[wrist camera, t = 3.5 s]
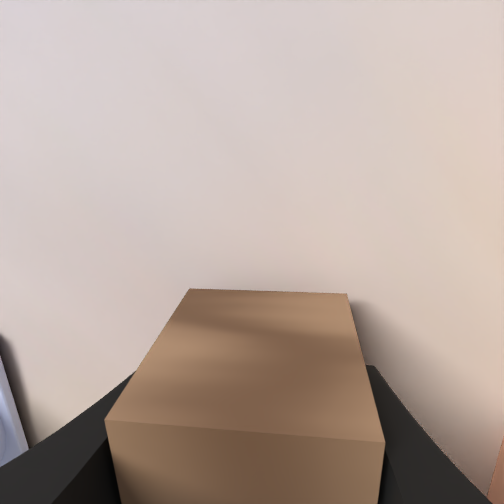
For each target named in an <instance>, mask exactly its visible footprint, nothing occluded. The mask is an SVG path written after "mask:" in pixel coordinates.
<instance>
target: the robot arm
mask: <svg viewBox="0 0 504 504" xmlns="http://www.w3.org/2000/svg"><path fill="white" fill-rule="evenodd" d="M365 366H366V370H367V374H368V378H369V382H370V385H371V389H372V393H373V397H374V401H375V405H376V408H377V412H378V416H379V420H380V424H381V428H382V432H383V435H384V439H385V449H384V457H383V464H382V472H381V480H380V487H379V495H378V502H377V504H493V503H492V502H491V501H489V500H488V499H487V498H486V497H485V496H484V495H483V494H482V493H481V492H480V491H479V490H478V489H477V488H476V487H475V486H474V485H473V484H472V483H471V482H470V481H469V480H468V479H467V478H466V477H465V476H464V474H463V473H462V472H461V471H460V470H459V469H458V468H457V467H456V466H455V465H454V464H453V463H452V462H451V461H450V459H449V458H448V457H447V456H446V455H445V454H444V453H443V452H442V451H441V450H440V448H439V447H438V446H437V445H436V444H435V443H434V442H433V440H432V439H431V438H430V437H429V436H428V435H427V433H426V432H425V431H424V430H423V429H422V427H421V426H420V425H419V424H418V423H417V421H416V420H415V419H414V418H413V417H412V415H411V414H410V413H409V412H408V410H407V409H406V408H405V407H404V405H403V404H402V403H401V401H400V400H399V399H398V397H397V396H396V395H395V393H394V392H393V391H392V389H391V388H390V387H389V385H388V384H387V383H386V381H385V380H384V378H383V377H382V376H381V374H380V373H379V371H378V370H377V369H376V368H375V367H374V366H369V365H365ZM135 372H136V371H135ZM135 372H134V373H135ZM134 373H133V374H132V375H130V376H129V377H128V378H127V379H125V380H124V381H123V382H122V383H120V384H119V385H118V386H117V387H115V388H114V389H113V390H112V391H110V392H109V393H108V394H107V395H105V396H104V397H103V398H102V399H100V400H99V401H98V402H96V403H95V404H94V405H92V406H91V407H90V408H88V409H87V410H85V411H84V412H83V413H81V414H80V415H79V416H77V417H76V418H74V419H73V420H72V421H70V422H69V423H68V424H66V425H65V426H64V427H62V428H61V429H59V430H58V431H56V432H55V433H53V434H52V435H51V436H49V437H47V438H46V439H44V440H43V441H41V442H40V443H38V444H37V445H35V446H34V447H32V448H30V449H29V448H28V444H27V441H26V438H25V435H24V431H23V428H22V425H21V422H20V418H19V415H18V412H17V409H16V405H15V402H14V399H13V396H12V393H11V389H10V386H9V383H8V380H7V376H6V373H5V370H4V367H3V363H2V360H1V357H0V504H122V503H121V498H120V493H119V488H118V483H117V479H116V474H115V469H114V464H113V459H112V454H111V450H110V445H109V440H108V435H107V430H106V425H105V421H104V419H105V418H106V416H107V415H108V413H109V412H110V410H111V409H112V407H113V405H114V404H115V402H116V401H117V399H118V398H119V396H120V395H121V393H122V392H123V390H124V389H125V387H126V385H127V384H128V382H129V381H130V379H131V378H132V376H133V375H134Z"/></svg>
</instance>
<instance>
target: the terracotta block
mask: <svg viewBox="0 0 504 504" xmlns="http://www.w3.org/2000/svg"><path fill="white" fill-rule="evenodd" d="M487 499H488V500H489V501H491V502H492V503H493V504H504V438H503V441H502V445H501V448H500V452H499V456H498V459H497V463H496V466H495V470H494V474H493V477H492V481H491V484H490V488H489V492H488V495H487Z"/></svg>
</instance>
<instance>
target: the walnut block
mask: <svg viewBox="0 0 504 504" xmlns="http://www.w3.org/2000/svg"><path fill="white" fill-rule="evenodd" d="M104 421H105V425H106V430H107V435H108V440H109V445H110V450H111V454H112V459H113V464H114V469H115V474H116V479H117V483H118V488H119V493H120V498H121V503H122V504H377V502H378V495H379V487H380V480H381V472H382V464H383V457H384V449H385V439H384V435H383V432H382V428H381V424H380V420H379V416H378V412H377V408H376V405H375V401H374V397H373V393H372V389H371V385H370V382H369V378H368V374H367V370H366V366H365V362H364V358H363V355H362V351H361V347H360V343H359V339H358V335H357V332H356V328H355V324H354V320H353V316H352V312H351V308H350V305H349V301H348V297H347V294H338V293H308V292H278V291H247V290H217V289H189V290H188V292H187V293H186V295H185V296H184V298H183V299H182V301H181V302H180V304H179V305H178V307H177V308H176V310H175V312H174V313H173V315H172V316H171V318H170V319H169V321H168V322H167V324H166V325H165V327H164V329H163V330H162V332H161V333H160V335H159V336H158V338H157V339H156V341H155V342H154V344H153V345H152V347H151V349H150V350H149V352H148V353H147V355H146V356H145V358H144V359H143V361H142V362H141V364H140V365H139V367H138V369H137V370H136V372H135V373H134V375H133V376H132V378H131V379H130V381H129V382H128V384H127V385H126V387H125V389H124V390H123V392H122V393H121V395H120V396H119V398H118V399H117V401H116V402H115V404H114V405H113V407H112V409H111V410H110V412H109V413H108V415H107V416H106V418H105V419H104Z"/></svg>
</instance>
